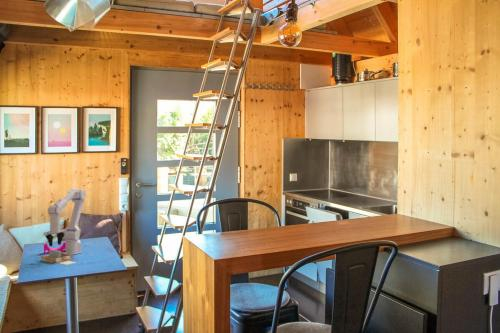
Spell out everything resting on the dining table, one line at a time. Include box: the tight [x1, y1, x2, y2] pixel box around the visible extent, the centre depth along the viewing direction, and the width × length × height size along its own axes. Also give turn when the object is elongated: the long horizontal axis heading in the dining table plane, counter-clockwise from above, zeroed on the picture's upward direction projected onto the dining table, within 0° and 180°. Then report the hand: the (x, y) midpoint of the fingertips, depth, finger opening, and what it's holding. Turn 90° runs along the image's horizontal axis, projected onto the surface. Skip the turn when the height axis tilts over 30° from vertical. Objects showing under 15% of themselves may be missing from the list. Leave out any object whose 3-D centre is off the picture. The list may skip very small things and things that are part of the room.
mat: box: [59, 260, 77, 266], centre depth 278 cm, size 9×8×1 cm
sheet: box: [49, 249, 62, 259], centre depth 284 cm, size 1×10×6 cm, turn 57°
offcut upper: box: [61, 252, 70, 257], centre depth 288 cm, size 2×7×2 cm, turn 60°
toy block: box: [43, 241, 66, 255], centre depth 307 cm, size 15×6×8 cm, turn 114°
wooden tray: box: [40, 254, 74, 265], centre depth 285 cm, size 13×14×3 cm
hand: (55, 245), depth 284 cm, fingers open, 5 cm apart
